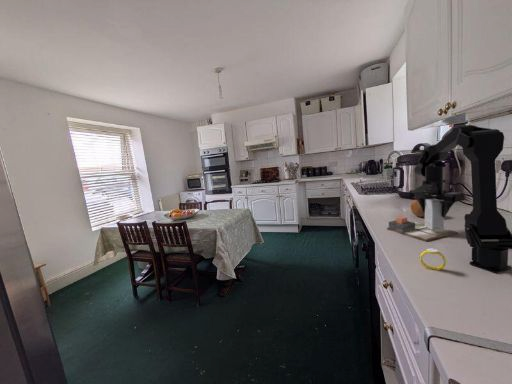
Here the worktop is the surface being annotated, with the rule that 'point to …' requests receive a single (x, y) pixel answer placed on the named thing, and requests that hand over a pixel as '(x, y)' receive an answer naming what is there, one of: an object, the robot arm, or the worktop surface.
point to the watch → (433, 251)
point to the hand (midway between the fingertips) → (433, 215)
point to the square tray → (419, 231)
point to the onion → (417, 209)
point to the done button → (401, 220)
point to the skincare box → (433, 214)
